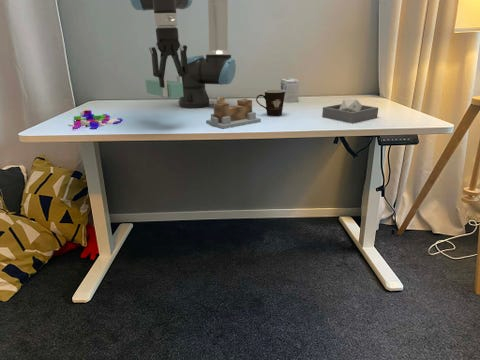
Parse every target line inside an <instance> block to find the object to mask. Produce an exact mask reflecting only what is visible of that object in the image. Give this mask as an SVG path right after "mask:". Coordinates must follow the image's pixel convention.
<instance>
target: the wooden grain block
mask: <svg viewBox="0 0 480 360" xmlns="http://www.w3.org/2000/svg"><path fill="white" fill-rule="evenodd" d="M251 112H253V100H252V99H247V98H241V99H237V100H236V104H234V105H230V104H229V103H228V102H226V97H225V96H217V97H216V102H215V103H213V114H214V117H216V118H218V121H219V123H222V117H227V116H229V117H231V121H237V120H243V119H248V118H247V113H251Z"/></svg>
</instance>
